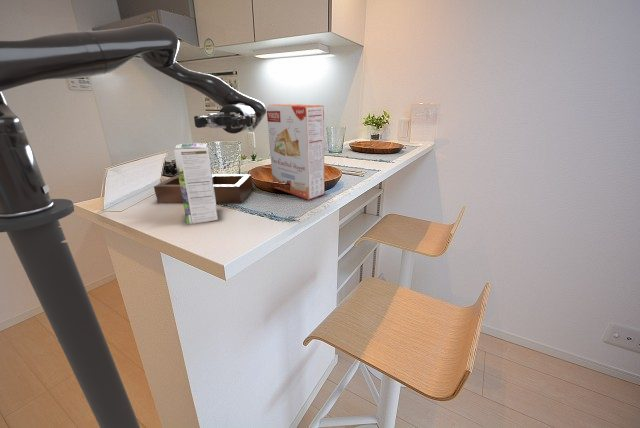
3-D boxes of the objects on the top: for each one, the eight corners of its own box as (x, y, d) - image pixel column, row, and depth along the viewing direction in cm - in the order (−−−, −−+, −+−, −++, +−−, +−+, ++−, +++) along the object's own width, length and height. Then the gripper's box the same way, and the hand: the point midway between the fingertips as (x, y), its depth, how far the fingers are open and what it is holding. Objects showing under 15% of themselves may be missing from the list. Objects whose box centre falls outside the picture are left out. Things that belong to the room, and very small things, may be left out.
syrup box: (188, 214, 59) (174, 143, 54) (218, 210, 61) (207, 141, 56) (187, 225, 54) (171, 148, 49) (219, 220, 56) (207, 146, 51)
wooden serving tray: (157, 203, 66) (153, 186, 65) (179, 189, 76) (176, 174, 75) (241, 203, 66) (239, 186, 64) (252, 189, 75) (251, 174, 74)
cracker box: (271, 189, 75) (264, 104, 67) (289, 184, 79) (284, 103, 71) (307, 201, 66) (304, 104, 58) (325, 195, 70) (325, 104, 62)
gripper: (210, 104, 80) (182, 106, 65) (260, 104, 80) (243, 105, 65) (214, 132, 83) (188, 139, 68) (262, 131, 83) (246, 139, 68)
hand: (215, 123), depth 66 cm, fingers open, 8 cm apart
